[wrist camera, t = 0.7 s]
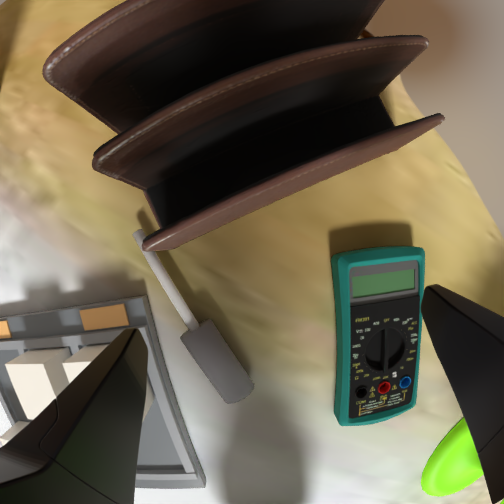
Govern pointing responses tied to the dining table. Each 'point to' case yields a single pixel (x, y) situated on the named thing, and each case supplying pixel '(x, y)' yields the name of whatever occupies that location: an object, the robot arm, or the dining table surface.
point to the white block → (85, 357)
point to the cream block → (38, 377)
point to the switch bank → (164, 405)
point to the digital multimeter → (377, 332)
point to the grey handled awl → (203, 340)
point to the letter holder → (233, 101)
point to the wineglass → (452, 463)
